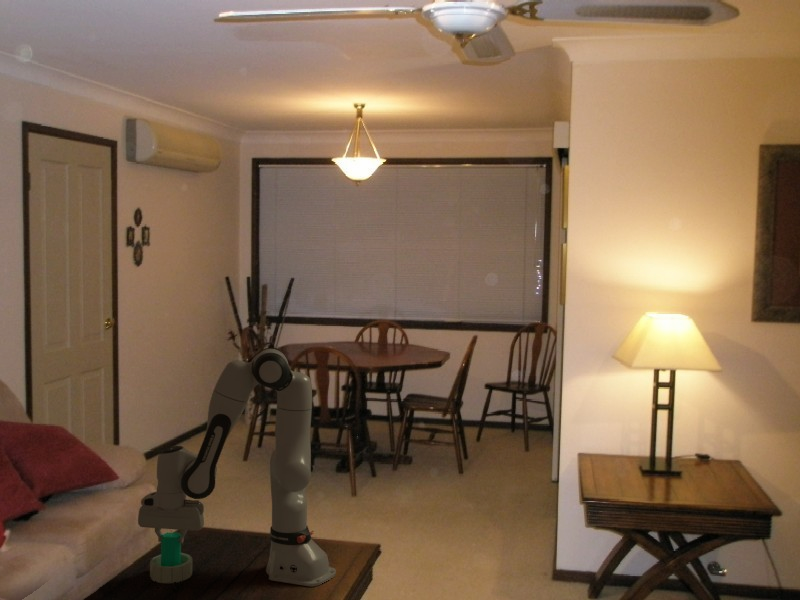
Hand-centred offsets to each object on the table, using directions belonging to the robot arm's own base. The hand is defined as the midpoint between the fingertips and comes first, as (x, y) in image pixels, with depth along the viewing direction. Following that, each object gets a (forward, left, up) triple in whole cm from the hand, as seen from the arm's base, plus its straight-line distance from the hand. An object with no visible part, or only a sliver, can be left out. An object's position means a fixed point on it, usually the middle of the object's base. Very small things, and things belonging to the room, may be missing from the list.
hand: (170, 542), depth 264 cm
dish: (0, 0, -11) cm, 11 cm away
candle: (0, 0, -9) cm, 8 cm away
